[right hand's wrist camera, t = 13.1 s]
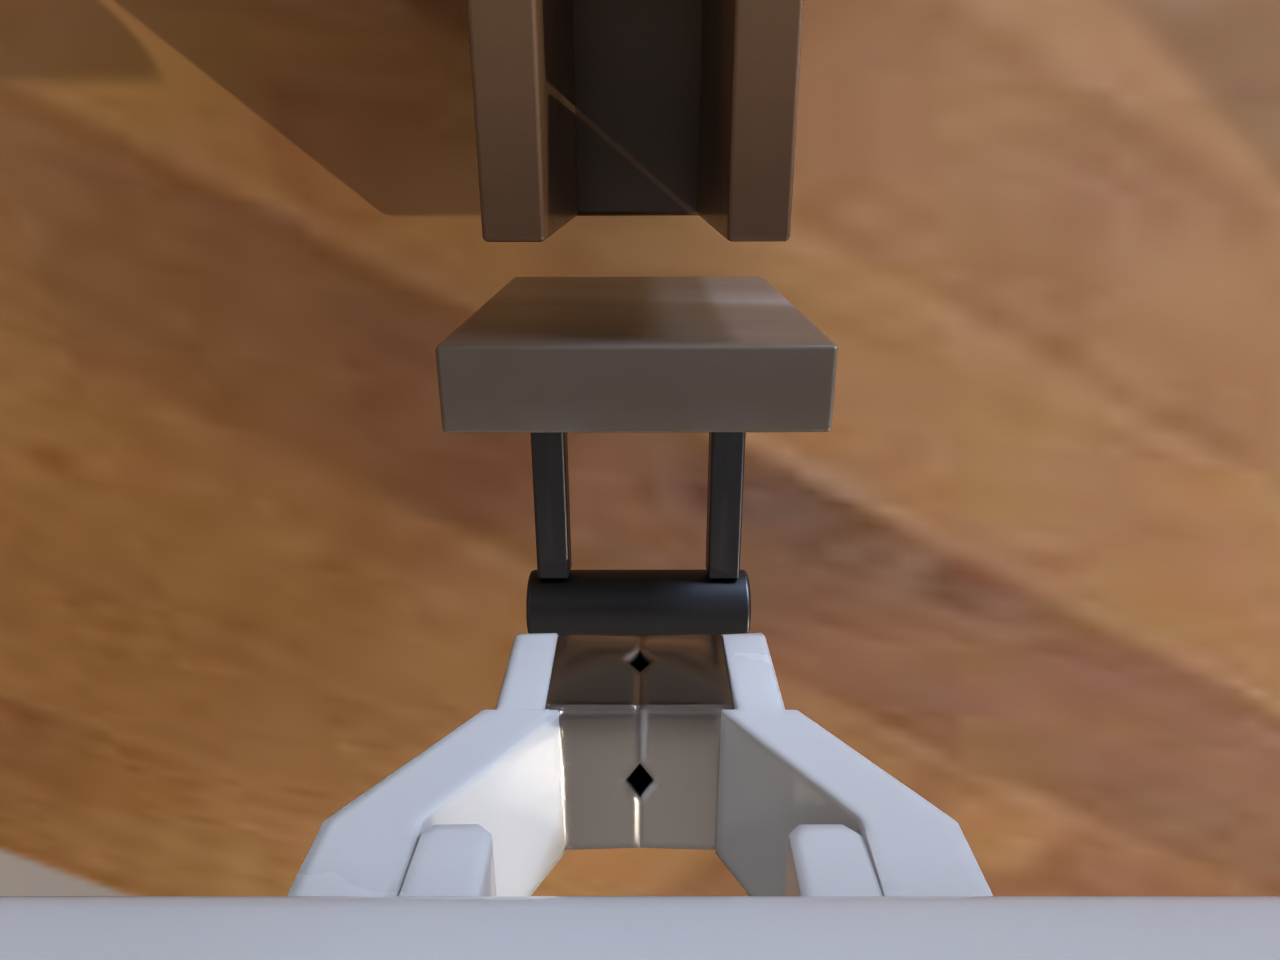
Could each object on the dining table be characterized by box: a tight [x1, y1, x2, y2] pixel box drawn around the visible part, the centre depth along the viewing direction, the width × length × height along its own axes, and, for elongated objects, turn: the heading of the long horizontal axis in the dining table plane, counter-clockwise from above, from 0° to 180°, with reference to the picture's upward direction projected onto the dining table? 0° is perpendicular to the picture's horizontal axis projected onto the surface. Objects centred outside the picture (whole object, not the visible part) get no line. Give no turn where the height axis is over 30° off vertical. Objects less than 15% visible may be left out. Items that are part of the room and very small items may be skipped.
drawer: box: [436, 0, 838, 636], centre depth 13 cm, size 20×5×7 cm, turn 0°
